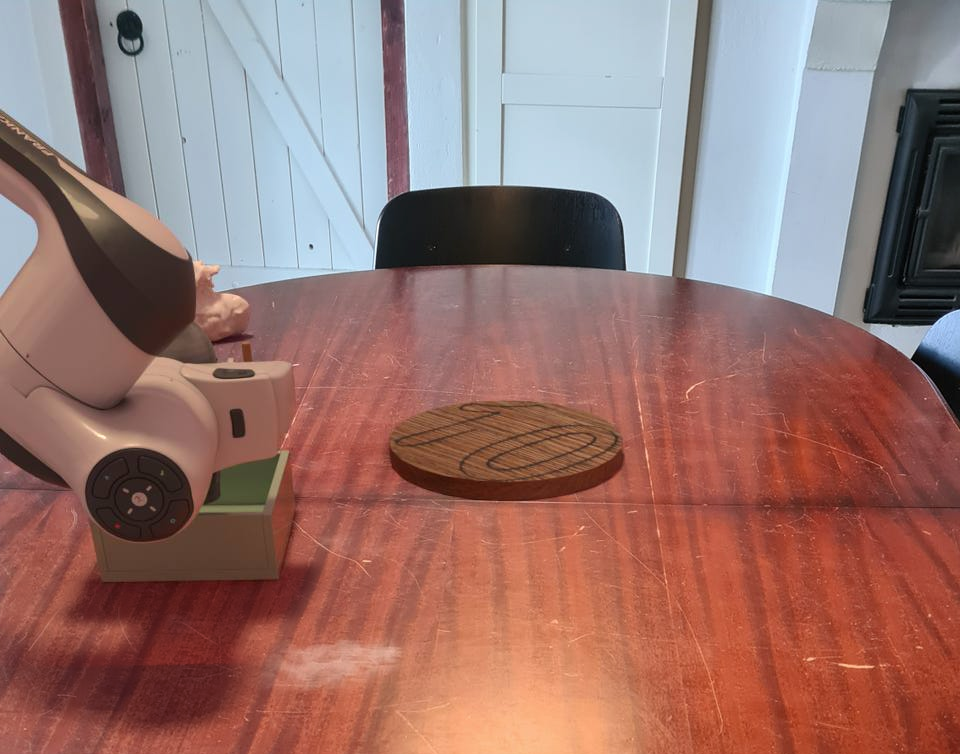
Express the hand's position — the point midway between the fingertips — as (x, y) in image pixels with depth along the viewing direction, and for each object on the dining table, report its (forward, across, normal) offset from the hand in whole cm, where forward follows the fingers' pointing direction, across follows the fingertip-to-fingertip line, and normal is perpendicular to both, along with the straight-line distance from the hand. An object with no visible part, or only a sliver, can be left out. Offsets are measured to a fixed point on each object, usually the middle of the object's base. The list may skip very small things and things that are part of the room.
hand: (177, 369), depth 106 cm
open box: (-1, 0, -16) cm, 16 cm away
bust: (+68, -4, -16) cm, 70 cm away
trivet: (+19, +31, -16) cm, 39 cm away
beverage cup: (-1, 0, -11) cm, 11 cm away
